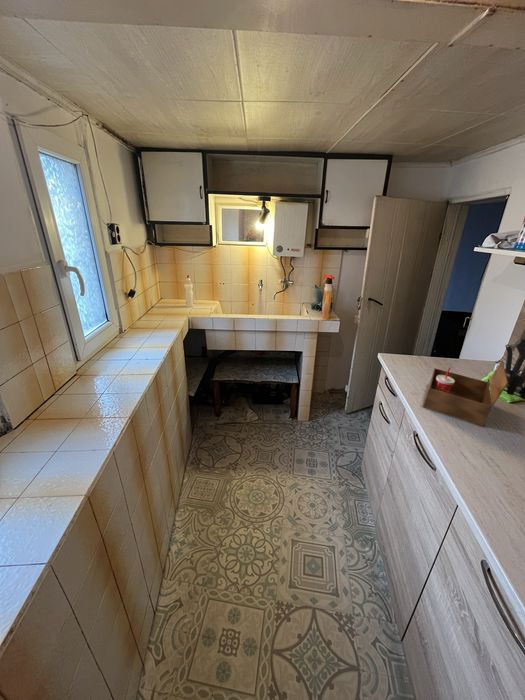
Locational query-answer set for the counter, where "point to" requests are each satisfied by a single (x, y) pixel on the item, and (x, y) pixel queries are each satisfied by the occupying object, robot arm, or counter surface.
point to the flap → (498, 382)
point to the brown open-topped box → (460, 398)
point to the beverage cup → (444, 383)
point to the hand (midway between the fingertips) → (509, 393)
